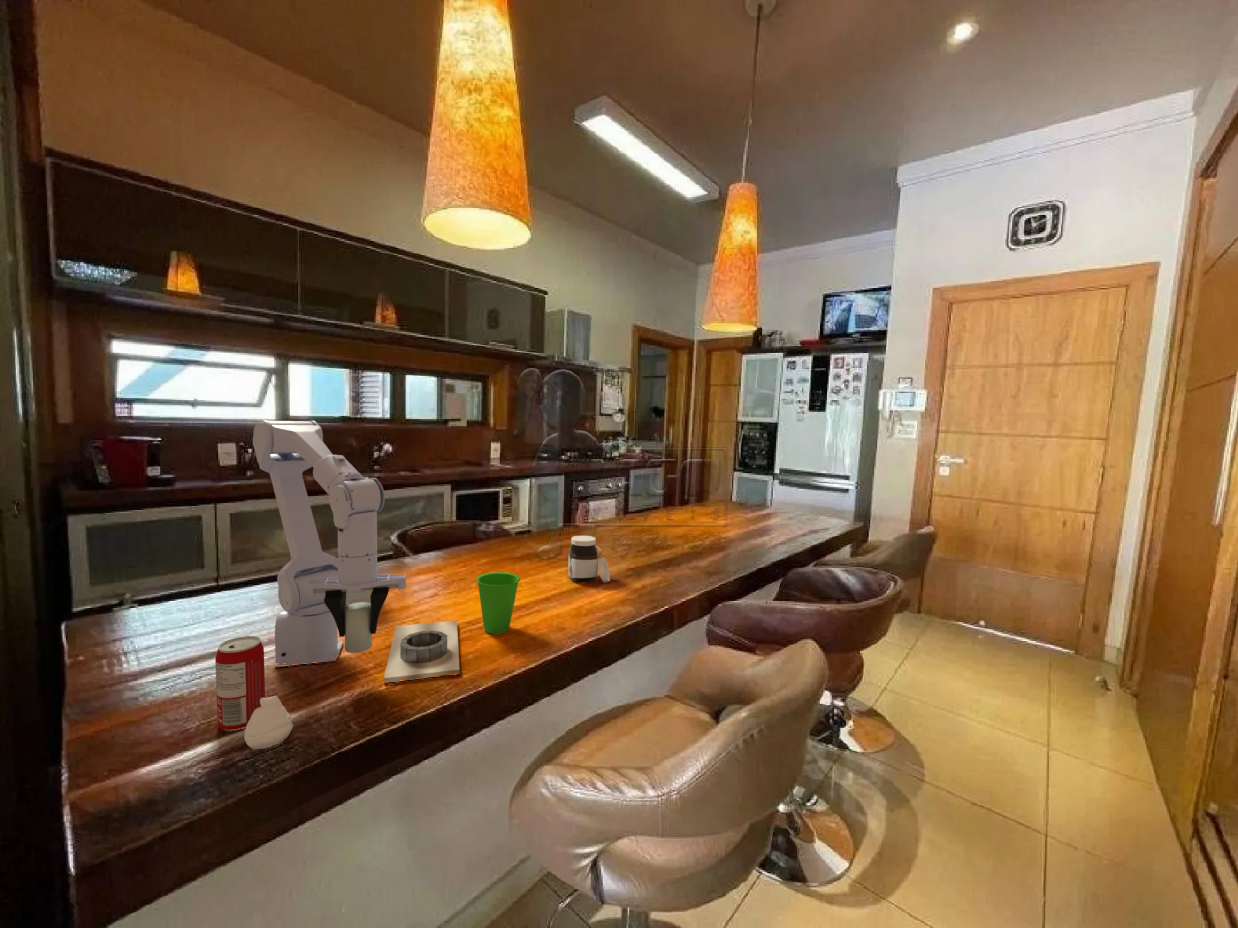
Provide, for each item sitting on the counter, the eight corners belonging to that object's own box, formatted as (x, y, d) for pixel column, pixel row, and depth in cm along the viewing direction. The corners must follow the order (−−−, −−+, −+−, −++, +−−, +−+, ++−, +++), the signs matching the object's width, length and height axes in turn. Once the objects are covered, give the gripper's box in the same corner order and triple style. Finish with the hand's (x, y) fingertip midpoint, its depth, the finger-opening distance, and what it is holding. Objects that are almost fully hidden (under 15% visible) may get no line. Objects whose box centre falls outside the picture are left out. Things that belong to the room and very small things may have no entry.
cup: (473, 639, 103) (475, 586, 102) (475, 621, 112) (477, 572, 111) (519, 637, 105) (521, 585, 104) (517, 619, 114) (519, 571, 113)
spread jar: (565, 574, 148) (566, 534, 147) (603, 572, 151) (604, 533, 150) (574, 587, 137) (575, 545, 136) (614, 585, 140) (616, 543, 139)
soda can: (264, 706, 78) (262, 630, 77) (266, 724, 73) (264, 643, 72) (218, 718, 74) (215, 638, 73) (217, 738, 70) (214, 653, 69)
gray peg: (342, 654, 83) (342, 612, 82) (347, 643, 87) (346, 603, 86) (370, 651, 84) (369, 610, 83) (373, 641, 88) (373, 601, 87)
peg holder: (383, 684, 85) (383, 663, 85) (396, 630, 106) (396, 614, 106) (459, 674, 89) (459, 655, 89) (456, 625, 110) (457, 609, 109)
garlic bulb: (290, 683, 73) (293, 701, 69) (291, 723, 74) (294, 743, 69) (243, 694, 70) (242, 714, 66) (244, 736, 71) (244, 758, 66)
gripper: (300, 562, 78) (302, 648, 79) (403, 557, 82) (403, 638, 84) (311, 550, 84) (313, 629, 86) (406, 546, 89) (406, 621, 90)
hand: (358, 633), depth 85 cm, fingers closed on gray peg, 4 cm apart
